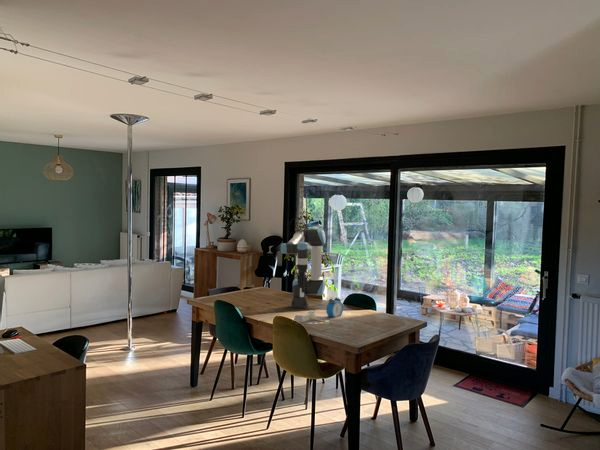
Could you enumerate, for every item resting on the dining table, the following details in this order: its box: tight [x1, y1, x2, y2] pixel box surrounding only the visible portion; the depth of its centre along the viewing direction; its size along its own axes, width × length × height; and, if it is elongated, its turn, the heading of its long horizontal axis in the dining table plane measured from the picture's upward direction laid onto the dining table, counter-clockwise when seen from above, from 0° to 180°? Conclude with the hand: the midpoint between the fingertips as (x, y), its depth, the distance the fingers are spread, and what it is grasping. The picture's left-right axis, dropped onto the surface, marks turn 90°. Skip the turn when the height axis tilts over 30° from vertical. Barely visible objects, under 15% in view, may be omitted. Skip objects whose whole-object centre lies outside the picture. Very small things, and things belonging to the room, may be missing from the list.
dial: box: [301, 310, 326, 322], centre depth 329 cm, size 16×13×6 cm
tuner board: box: [293, 315, 331, 325], centre depth 333 cm, size 24×26×2 cm
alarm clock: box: [325, 297, 344, 318], centre depth 346 cm, size 13×6×15 cm, turn 136°
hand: (301, 296), depth 332 cm, fingers closed
